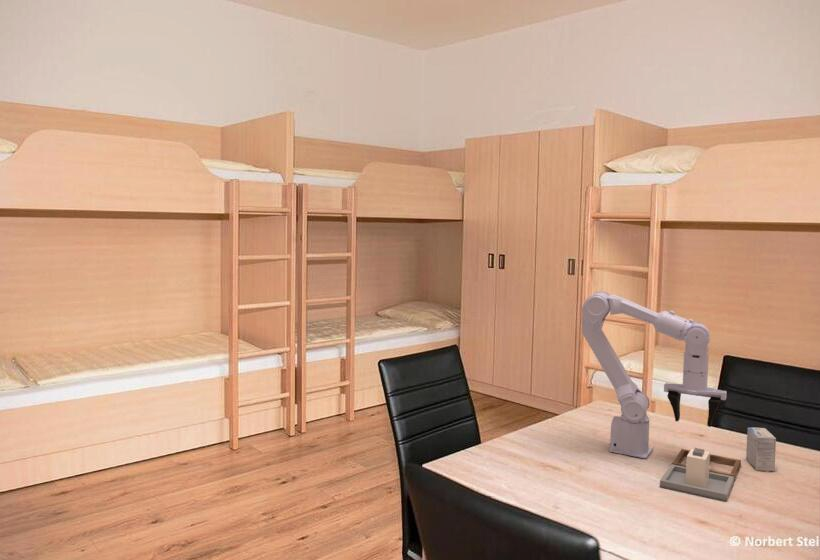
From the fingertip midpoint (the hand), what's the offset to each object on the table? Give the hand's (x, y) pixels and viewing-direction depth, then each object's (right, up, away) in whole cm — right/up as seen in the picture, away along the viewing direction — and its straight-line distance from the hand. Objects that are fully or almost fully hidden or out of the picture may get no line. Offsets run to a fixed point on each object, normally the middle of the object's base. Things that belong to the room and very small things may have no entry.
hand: (693, 422), depth 164 cm
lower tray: (-6, -11, -15) cm, 19 cm away
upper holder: (+2, -10, -4) cm, 11 cm away
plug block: (-5, -11, -14) cm, 19 cm away
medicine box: (+16, -10, -2) cm, 19 cm away
